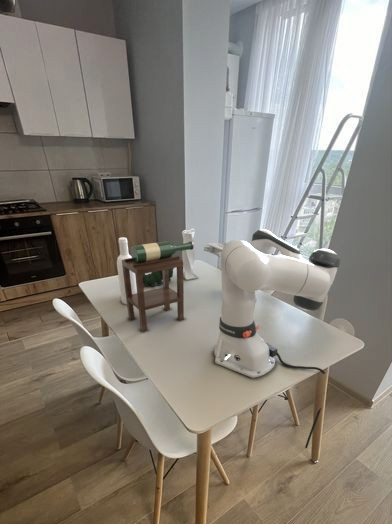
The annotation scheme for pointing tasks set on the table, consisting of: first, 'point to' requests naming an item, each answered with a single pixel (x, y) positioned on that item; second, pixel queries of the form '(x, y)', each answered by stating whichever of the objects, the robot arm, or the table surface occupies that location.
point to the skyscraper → (188, 255)
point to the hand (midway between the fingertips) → (211, 251)
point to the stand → (156, 295)
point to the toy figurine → (155, 277)
